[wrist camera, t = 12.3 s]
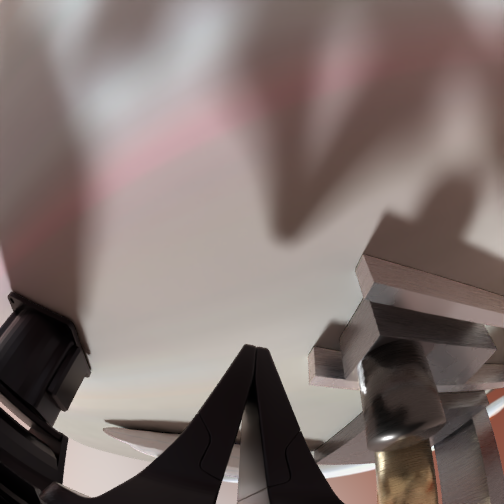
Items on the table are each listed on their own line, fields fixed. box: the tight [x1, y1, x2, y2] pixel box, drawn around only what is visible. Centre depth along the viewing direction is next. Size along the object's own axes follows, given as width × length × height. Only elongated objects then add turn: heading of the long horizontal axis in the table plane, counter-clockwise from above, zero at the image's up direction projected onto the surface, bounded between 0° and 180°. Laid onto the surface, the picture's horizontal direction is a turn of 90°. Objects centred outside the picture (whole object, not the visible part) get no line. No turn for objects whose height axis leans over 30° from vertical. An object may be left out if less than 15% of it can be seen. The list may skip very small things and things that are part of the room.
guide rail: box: [308, 254, 504, 392], centre depth 11 cm, size 20×6×3 cm, turn 77°
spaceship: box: [103, 427, 240, 478], centre depth 21 cm, size 23×7×4 cm, turn 94°
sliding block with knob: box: [339, 298, 497, 452], centre depth 10 cm, size 8×3×6 cm, turn 77°
